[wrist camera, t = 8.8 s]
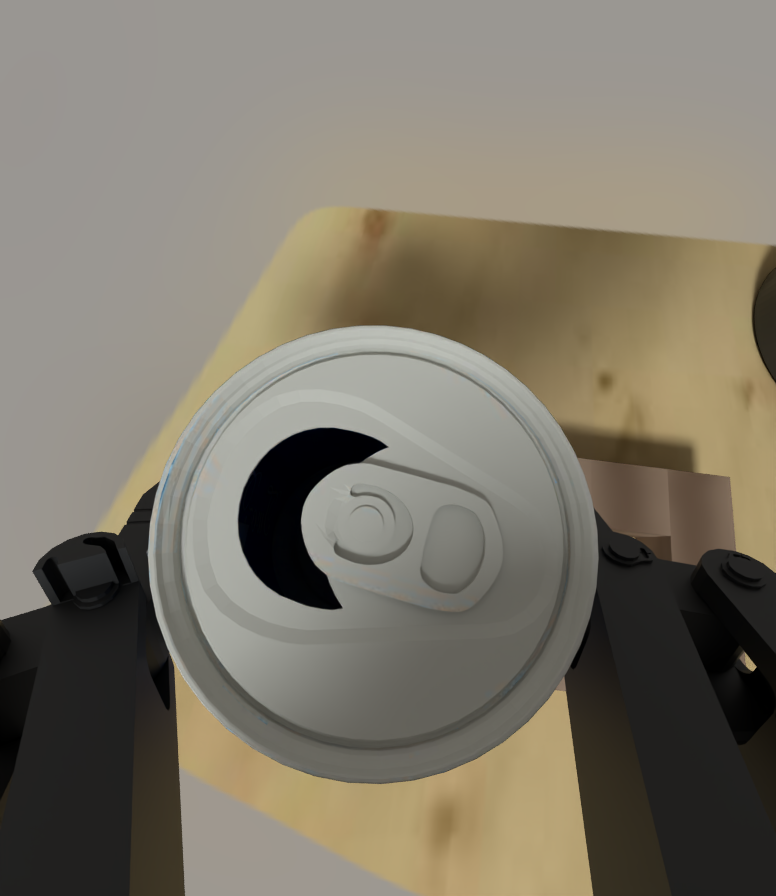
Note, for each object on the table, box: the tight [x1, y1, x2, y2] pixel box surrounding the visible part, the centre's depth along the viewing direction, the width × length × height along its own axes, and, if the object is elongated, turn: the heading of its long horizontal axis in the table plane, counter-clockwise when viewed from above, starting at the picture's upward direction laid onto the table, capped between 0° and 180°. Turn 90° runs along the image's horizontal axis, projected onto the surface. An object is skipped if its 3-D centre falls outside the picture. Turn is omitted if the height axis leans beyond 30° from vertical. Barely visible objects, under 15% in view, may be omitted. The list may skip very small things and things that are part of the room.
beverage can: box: [148, 325, 599, 784], centre depth 11 cm, size 6×6×12 cm
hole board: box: [555, 458, 746, 691], centre depth 24 cm, size 26×12×3 cm, turn 84°
